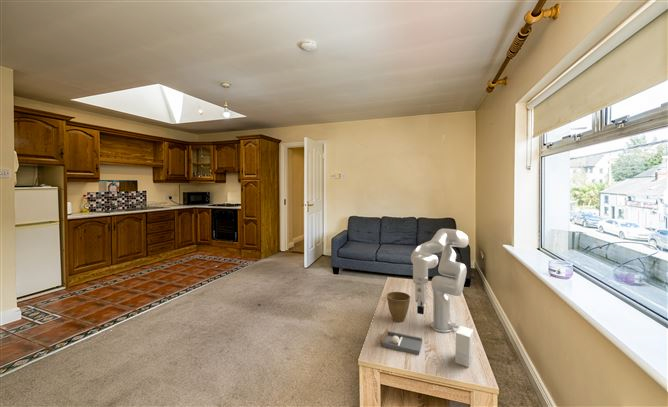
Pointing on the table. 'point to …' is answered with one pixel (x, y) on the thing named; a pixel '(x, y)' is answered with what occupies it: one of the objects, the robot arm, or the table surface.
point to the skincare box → (464, 346)
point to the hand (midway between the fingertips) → (420, 313)
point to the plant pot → (398, 305)
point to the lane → (402, 342)
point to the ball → (395, 339)
